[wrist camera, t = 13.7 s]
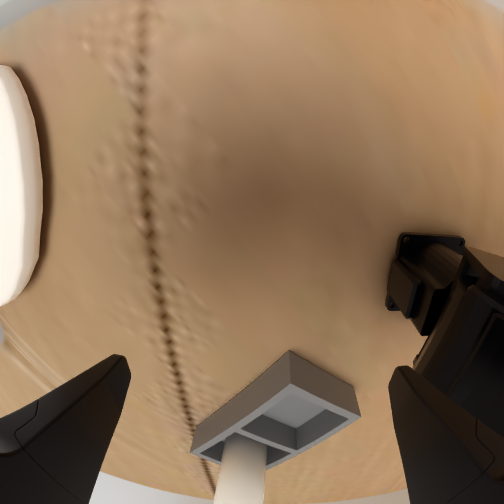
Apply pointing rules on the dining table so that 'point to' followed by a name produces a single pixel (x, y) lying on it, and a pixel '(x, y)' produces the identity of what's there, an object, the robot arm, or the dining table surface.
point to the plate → (18, 188)
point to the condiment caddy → (281, 412)
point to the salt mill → (241, 471)
